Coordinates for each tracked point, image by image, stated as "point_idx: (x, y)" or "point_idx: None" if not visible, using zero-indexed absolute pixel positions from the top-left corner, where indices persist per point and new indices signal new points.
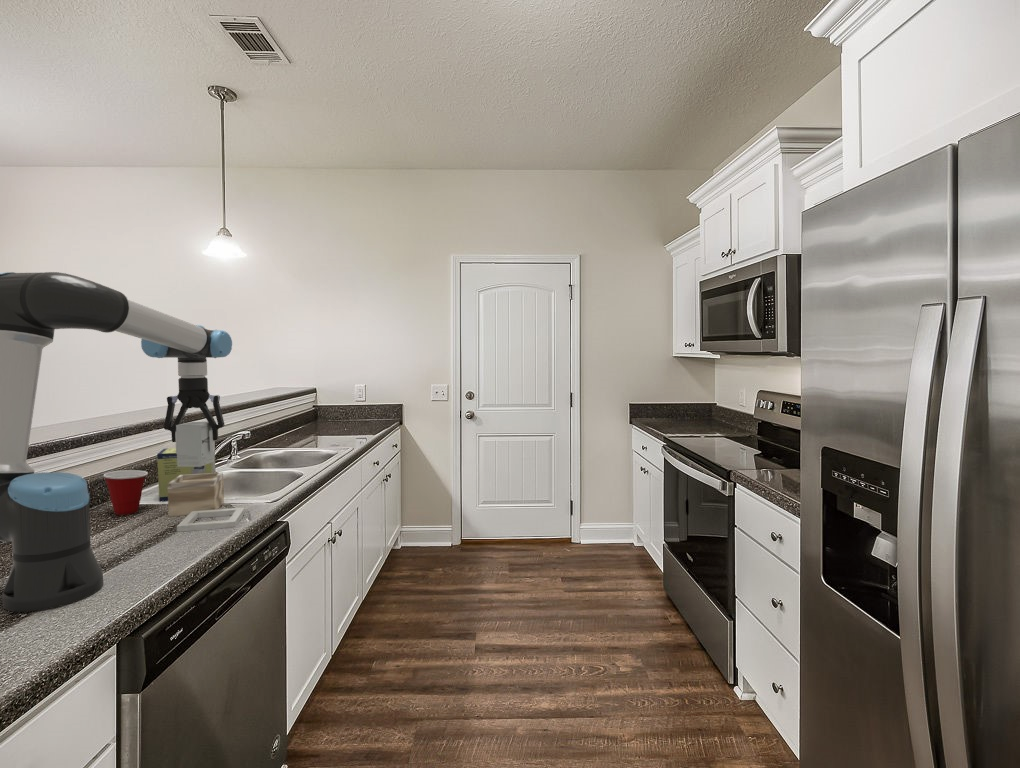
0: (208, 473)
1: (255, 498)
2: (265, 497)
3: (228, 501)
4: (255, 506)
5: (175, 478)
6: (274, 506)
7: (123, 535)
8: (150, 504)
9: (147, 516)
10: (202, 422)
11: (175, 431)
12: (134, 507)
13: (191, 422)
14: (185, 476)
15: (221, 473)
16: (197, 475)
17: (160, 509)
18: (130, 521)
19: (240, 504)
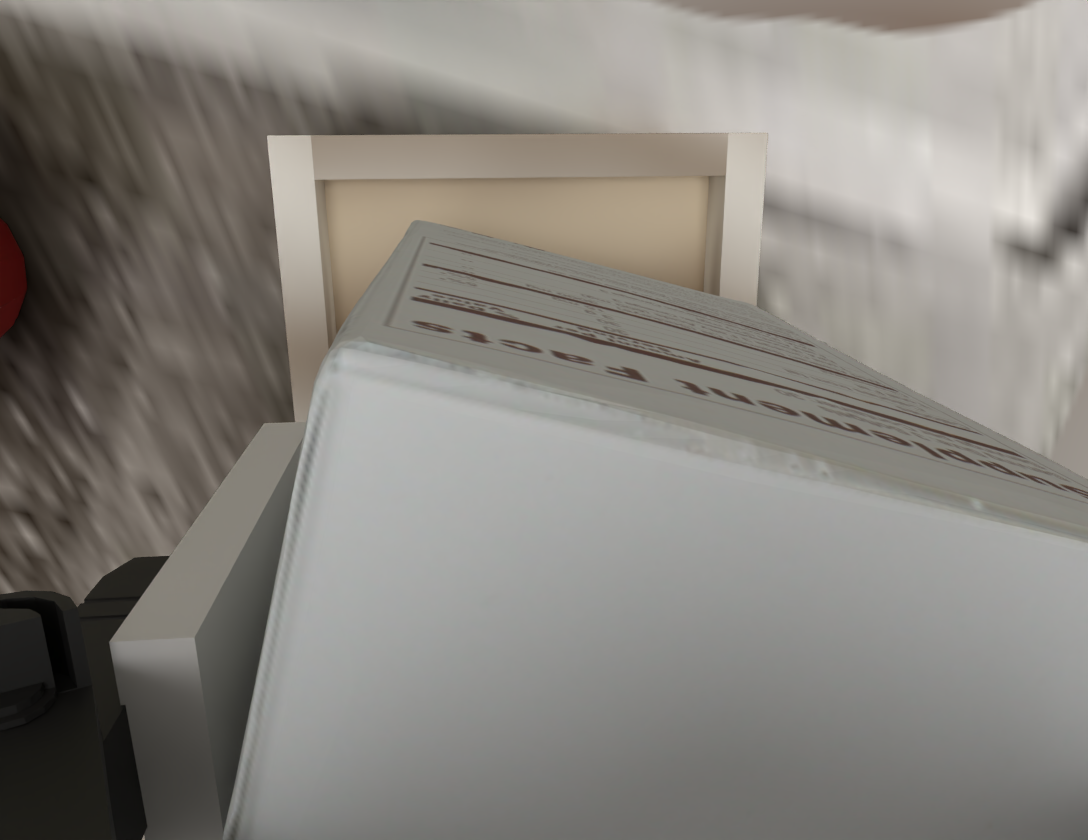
0: (604, 148)
1: (923, 77)
2: (1004, 65)
3: (708, 122)
4: (929, 351)
5: (292, 348)
6: (1058, 387)
7: None
8: (13, 24)
9: (187, 435)
10: (954, 834)
11: (128, 826)
12: (4, 325)
13: (508, 715)
14: (346, 176)
15: (758, 195)
16: (483, 176)
17: (198, 245)
18: (122, 537)
19: (816, 258)
